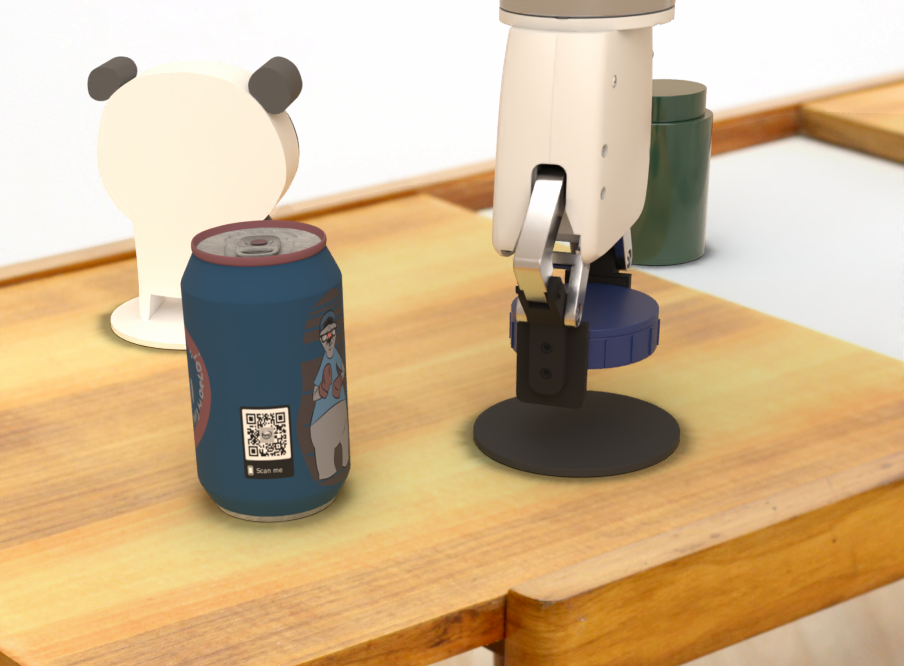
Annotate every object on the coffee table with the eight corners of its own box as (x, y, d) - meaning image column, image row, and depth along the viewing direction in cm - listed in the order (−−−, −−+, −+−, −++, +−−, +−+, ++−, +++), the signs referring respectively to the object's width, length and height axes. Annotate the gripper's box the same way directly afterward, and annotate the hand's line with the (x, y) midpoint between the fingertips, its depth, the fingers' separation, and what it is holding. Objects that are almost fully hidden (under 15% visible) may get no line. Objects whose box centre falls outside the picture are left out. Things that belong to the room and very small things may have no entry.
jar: (684, 233, 106) (694, 74, 101) (718, 261, 100) (730, 93, 95) (591, 241, 105) (596, 81, 100) (620, 269, 99) (626, 100, 95)
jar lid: (536, 313, 78) (537, 276, 77) (673, 328, 75) (675, 290, 74) (489, 359, 72) (489, 320, 71) (635, 377, 69) (637, 337, 68)
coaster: (646, 390, 81) (646, 382, 81) (707, 467, 72) (708, 459, 72) (456, 405, 80) (456, 398, 80) (495, 485, 71) (495, 477, 71)
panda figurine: (325, 290, 98) (314, 43, 91) (288, 352, 88) (272, 80, 81) (142, 287, 100) (117, 45, 93) (85, 347, 90) (53, 81, 83)
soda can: (207, 466, 74) (184, 218, 69) (352, 461, 74) (341, 212, 68) (192, 531, 68) (167, 264, 62) (351, 526, 68) (339, 258, 62)
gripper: (560, -42, 75) (550, 313, 83) (433, 10, 61) (437, 432, 69) (716, -39, 72) (690, 327, 80) (622, 15, 58) (602, 454, 66)
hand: (573, 372), depth 74 cm, fingers closed on jar lid, 6 cm apart
